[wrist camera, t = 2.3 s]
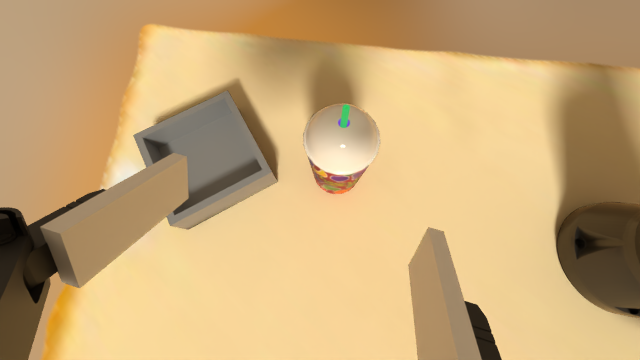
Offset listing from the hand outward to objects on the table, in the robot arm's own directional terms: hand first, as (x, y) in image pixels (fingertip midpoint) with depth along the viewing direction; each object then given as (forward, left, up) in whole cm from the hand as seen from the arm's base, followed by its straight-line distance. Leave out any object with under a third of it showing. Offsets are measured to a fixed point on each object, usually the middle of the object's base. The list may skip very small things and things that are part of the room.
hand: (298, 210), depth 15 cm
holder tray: (+18, +8, -27) cm, 33 cm away
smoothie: (+7, -8, -27) cm, 29 cm away
